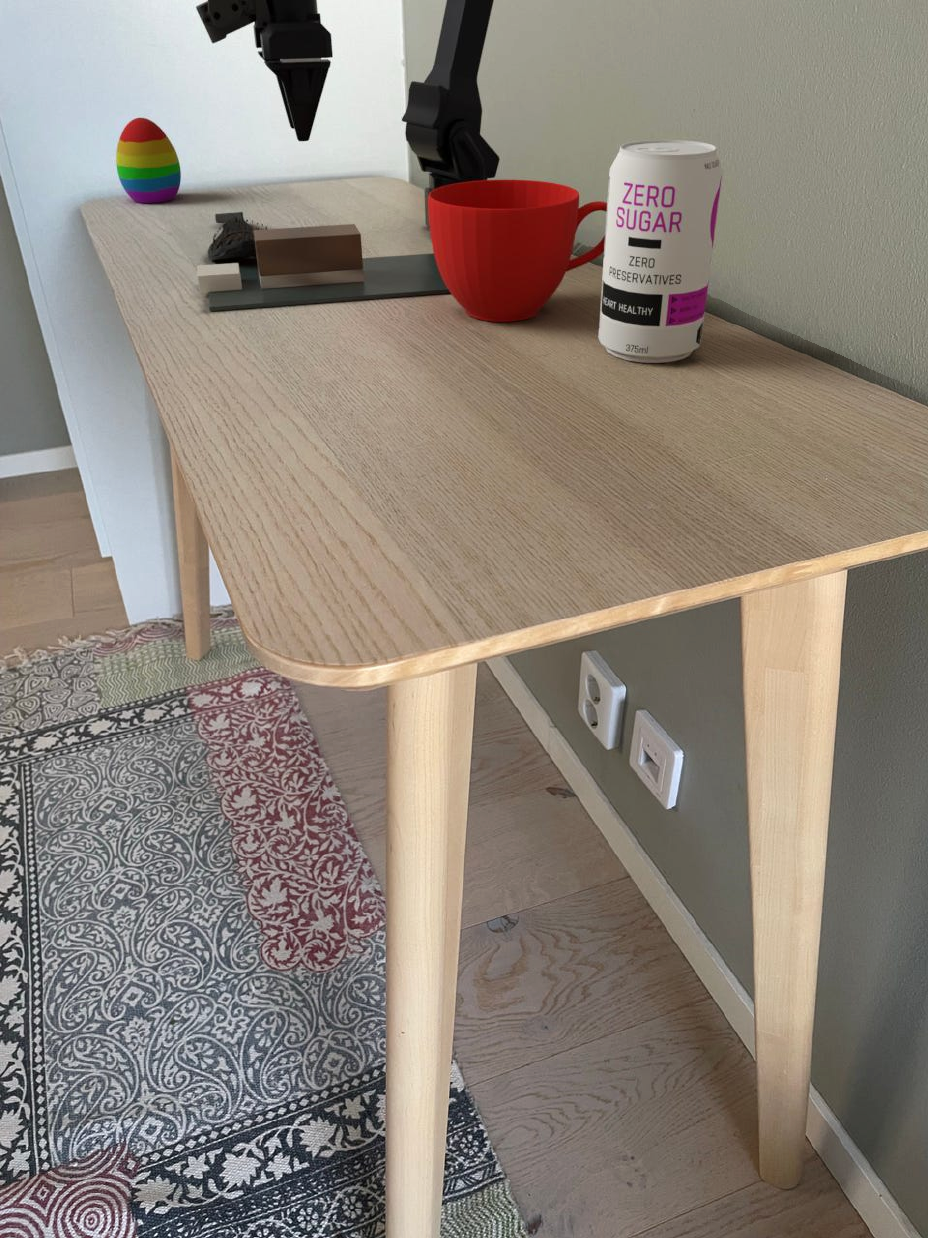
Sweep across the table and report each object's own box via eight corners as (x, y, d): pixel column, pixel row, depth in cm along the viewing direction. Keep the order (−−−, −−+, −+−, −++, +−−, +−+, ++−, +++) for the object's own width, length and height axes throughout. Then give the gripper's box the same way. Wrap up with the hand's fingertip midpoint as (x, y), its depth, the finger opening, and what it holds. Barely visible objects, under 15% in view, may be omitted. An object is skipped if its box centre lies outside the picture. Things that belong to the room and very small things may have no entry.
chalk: (240, 279, 97) (238, 262, 96) (242, 289, 94) (240, 272, 93) (200, 281, 97) (197, 265, 96) (200, 292, 93) (197, 275, 92)
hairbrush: (257, 195, 120) (291, 227, 100) (261, 226, 122) (295, 264, 101) (189, 200, 118) (209, 234, 97) (194, 233, 120) (215, 272, 99)
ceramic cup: (635, 324, 85) (646, 201, 79) (445, 338, 82) (442, 212, 77) (590, 284, 96) (596, 174, 90) (420, 296, 93) (416, 183, 87)
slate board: (435, 256, 105) (435, 252, 105) (463, 292, 94) (463, 287, 94) (208, 272, 101) (208, 268, 101) (209, 311, 90) (209, 306, 89)
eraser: (358, 270, 100) (354, 223, 97) (364, 281, 96) (360, 233, 93) (259, 276, 98) (253, 229, 95) (261, 289, 94) (255, 240, 92)
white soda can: (686, 331, 83) (709, 137, 75) (710, 364, 76) (738, 155, 68) (591, 333, 83) (604, 139, 75) (606, 367, 76) (622, 157, 68)
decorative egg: (123, 195, 135) (108, 115, 130) (183, 191, 137) (171, 112, 132) (122, 207, 129) (106, 123, 123) (186, 203, 131) (172, 119, 125)
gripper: (193, -49, 97) (217, 125, 106) (192, -52, 82) (220, 152, 90) (306, -51, 99) (320, 121, 108) (325, -54, 84) (340, 146, 92)
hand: (299, 134), depth 99 cm, fingers open, 9 cm apart
